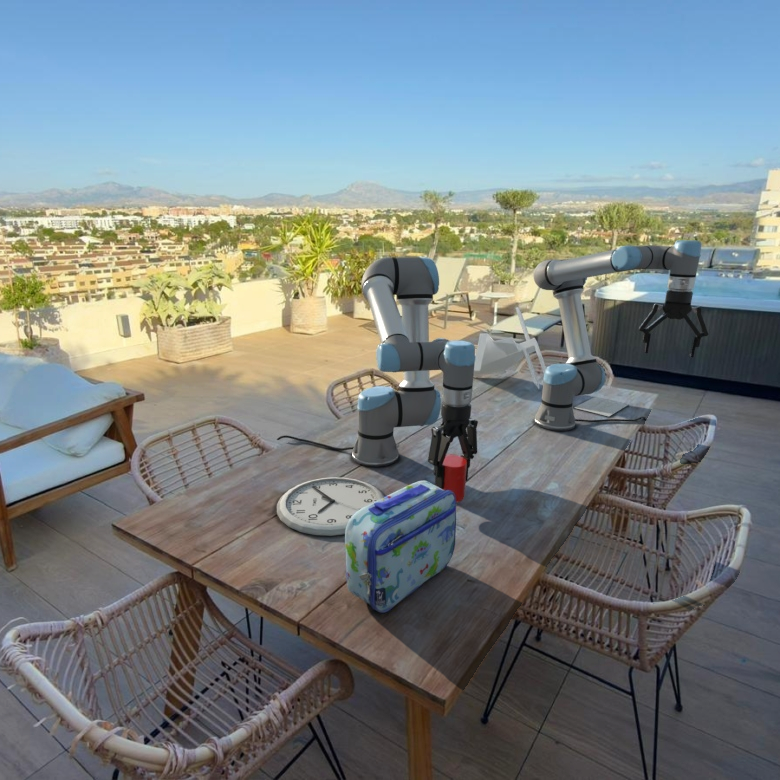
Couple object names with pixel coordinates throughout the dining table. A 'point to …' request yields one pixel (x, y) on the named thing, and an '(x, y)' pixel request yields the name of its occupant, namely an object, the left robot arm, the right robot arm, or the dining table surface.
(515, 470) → the dining table surface
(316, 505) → the wall clock
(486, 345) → the white plastic object
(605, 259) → the right robot arm
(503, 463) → the dining table surface
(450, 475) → the red cylinder
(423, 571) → the lunch box
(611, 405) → the invitation card
